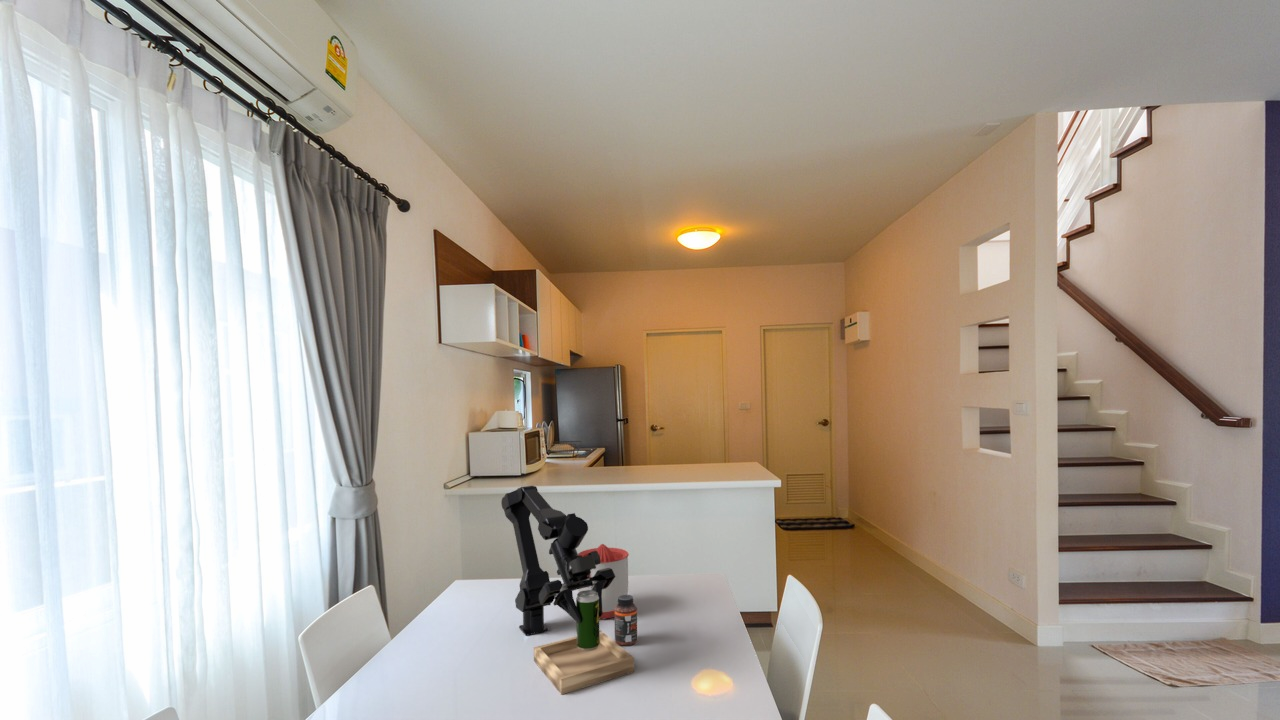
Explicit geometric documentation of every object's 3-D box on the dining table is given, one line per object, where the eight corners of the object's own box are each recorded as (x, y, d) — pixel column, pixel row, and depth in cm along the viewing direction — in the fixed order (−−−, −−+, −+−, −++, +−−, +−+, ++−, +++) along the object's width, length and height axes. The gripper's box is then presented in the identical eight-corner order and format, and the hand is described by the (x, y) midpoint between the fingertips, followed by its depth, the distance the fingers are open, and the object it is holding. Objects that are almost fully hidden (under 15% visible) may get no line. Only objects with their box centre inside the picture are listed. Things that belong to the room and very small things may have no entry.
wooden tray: (533, 661, 132) (533, 647, 132) (600, 642, 141) (600, 630, 141) (561, 694, 116) (561, 679, 116) (634, 671, 125) (634, 657, 125)
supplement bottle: (635, 647, 137) (633, 601, 138) (612, 646, 139) (611, 600, 140) (639, 637, 143) (638, 593, 144) (618, 636, 144) (617, 592, 145)
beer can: (578, 653, 123) (577, 599, 124) (575, 643, 128) (574, 591, 129) (601, 650, 124) (600, 596, 125) (597, 640, 129) (597, 588, 130)
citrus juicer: (562, 614, 161) (561, 545, 162) (608, 598, 172) (606, 534, 174) (594, 629, 149) (592, 555, 151) (640, 612, 161) (639, 543, 162)
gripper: (543, 548, 125) (566, 611, 116) (610, 534, 136) (637, 591, 127) (529, 574, 131) (550, 636, 122) (595, 559, 142) (619, 615, 133)
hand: (590, 619), depth 126 cm, fingers closed on beer can, 5 cm apart
